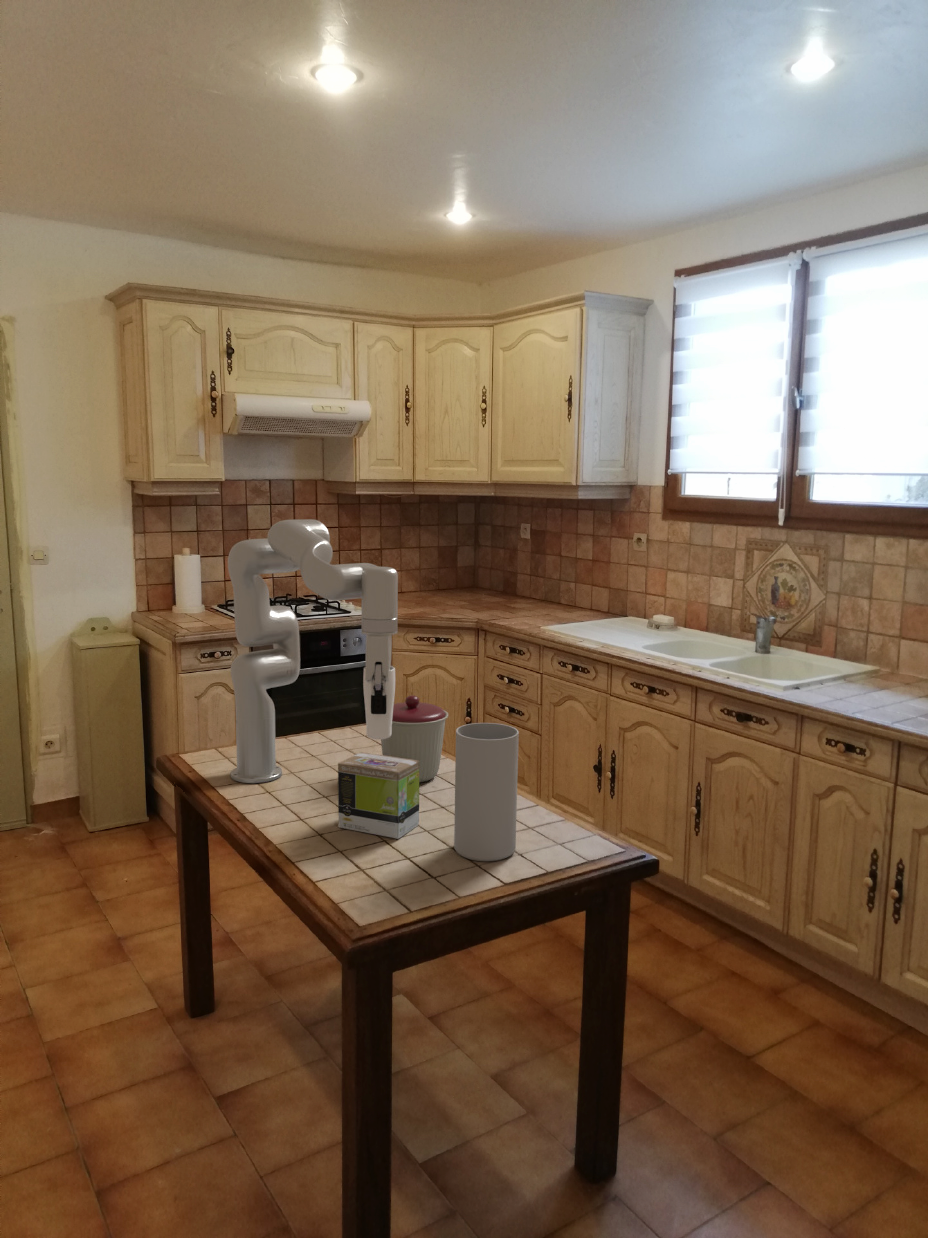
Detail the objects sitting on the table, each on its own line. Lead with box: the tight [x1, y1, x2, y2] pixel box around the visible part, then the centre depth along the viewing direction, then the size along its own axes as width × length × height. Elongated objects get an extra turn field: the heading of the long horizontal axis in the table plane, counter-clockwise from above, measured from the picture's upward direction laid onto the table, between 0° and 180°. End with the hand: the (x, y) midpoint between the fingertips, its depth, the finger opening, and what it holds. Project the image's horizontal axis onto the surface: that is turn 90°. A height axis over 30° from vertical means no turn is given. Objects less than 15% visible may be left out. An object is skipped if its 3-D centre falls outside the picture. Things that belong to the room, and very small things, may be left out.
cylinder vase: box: [453, 722, 520, 862], centre depth 182 cm, size 12×12×25 cm
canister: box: [380, 695, 449, 783], centre depth 226 cm, size 18×18×21 cm
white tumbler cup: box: [362, 665, 396, 740], centre depth 191 cm, size 7×7×15 cm
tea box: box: [337, 751, 420, 840], centre depth 194 cm, size 15×10×15 cm, turn 65°
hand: (379, 708), depth 191 cm, fingers closed on white tumbler cup, 6 cm apart
